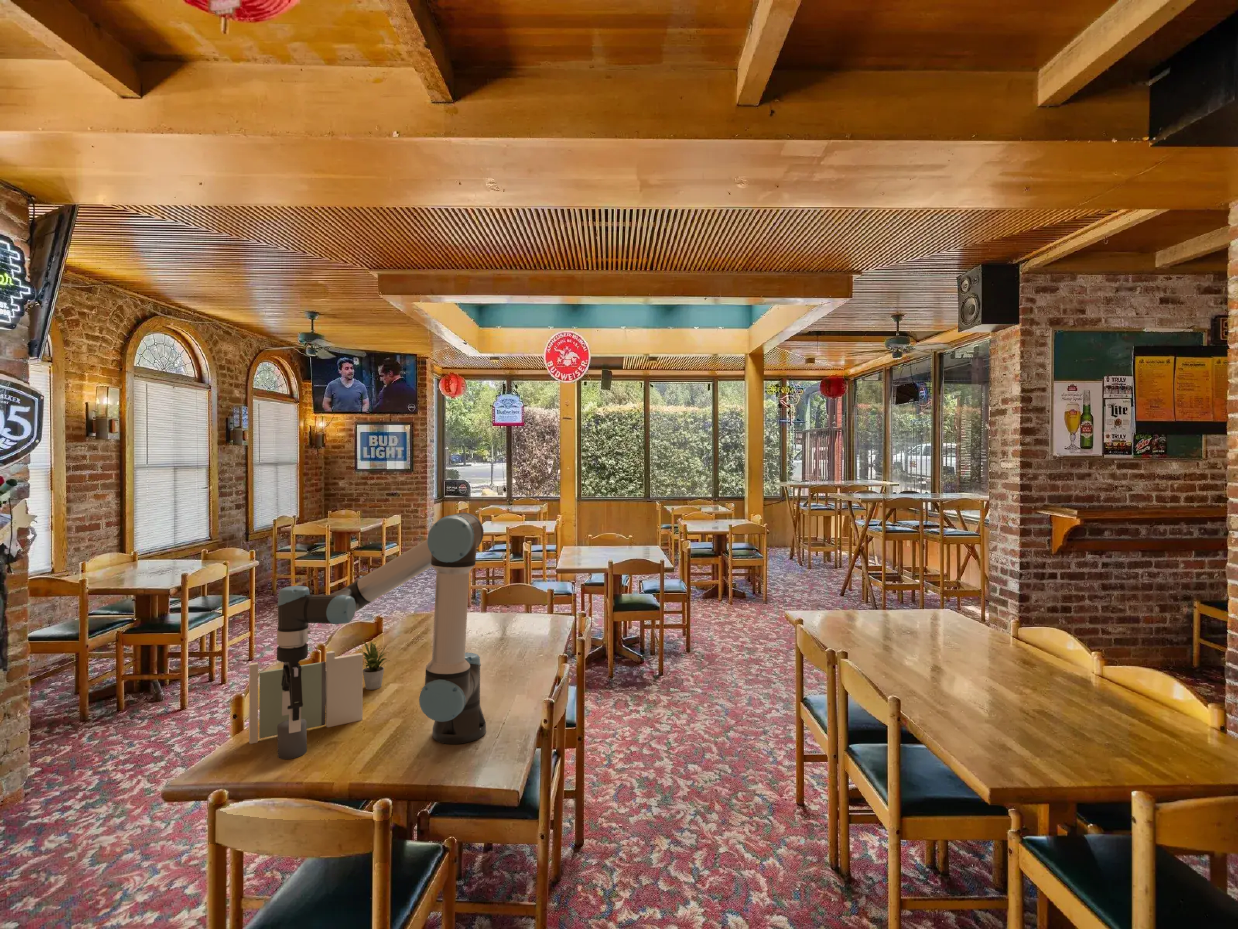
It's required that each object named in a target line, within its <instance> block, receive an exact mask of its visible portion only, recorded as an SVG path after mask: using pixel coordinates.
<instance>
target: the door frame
mask: <svg viewBox="0 0 1238 929" xmlns="http://www.w3.org/2000/svg"><path fill="white" fill-rule="evenodd" d="M362 653H363V652H362ZM362 653H361V652H360V653H359V652H358V653H352V654H347V655H339V656H335V654H336V651H334V650H330V651H326V652H325V662H326V724H325V726H326V728H331V727H335V726H341V725H345V724H351V723H355V722H359V721H363V718H364V717H363V716H364V714H363V706H364V705H363V702H364V700H363V698H364V697H363V696H364V694H363V691H364V687H363V686H364V684H363V681H364V676H363V667H364V665H363V663H364V658H363V656H364V653H363V654H362ZM248 667H249V668H248V670H249V671H248V672H249V673H248V674H249V675H248V680H249V682H248V686H249V687H248V690H249V691H248V693H249V695H248V698H249V699H248V743H249V745H252V744H257V743H259V662H258V661H257V662H252V663H251V662H250V663H249V665H248Z"/></svg>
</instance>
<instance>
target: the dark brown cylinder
mask: <svg viewBox="0 0 1238 929" xmlns="http://www.w3.org/2000/svg"><path fill="white" fill-rule="evenodd" d="M307 731H308V730H307V729H306V720H305V719H301V731H299V732H294V733H289V720H287V721H284V722H281V723H280V724H278V726H277V735H276V736H277V738H276V739H277V758H278V759H280V760H291V759H296V758H299V757H301V756H304V755H305V754H306V753H307V751H308V749H307V748H308V744H307V743H308V739H307Z"/></svg>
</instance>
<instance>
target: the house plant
mask: <svg viewBox="0 0 1238 929" xmlns="http://www.w3.org/2000/svg"><path fill="white" fill-rule="evenodd" d="M361 642H362V643H363V644H364V646H365V649H366V651H367V652H366V651H363V650H359V652H358V653H362V654H363V656H364V657H363V659H364V660H366V661H364V662H363V663H364V664H363V667H365V668H364V669H363V681H364V685H365V686H364V687H365V690H369V691H370V690H371V691H372V690H373V691H374V690H377V689H380V688H381V687H382V684H383V678H384V673H385V667H384V666H383V665H384V664H385V663H386V662H391V659H390V660H387V658H382V657H384V655H385V653H384V652H385V649H386V647H387V645H388V644H386V645H385V647H384V648H383V649H382V651H381V652H380V654H379V650H377V647H376V645H377V641H376V643H373V641H370V644H369V646H368V644H367V643H366V642H365V641H362V640H361ZM392 647H393V645H392V646H390V647H388V649H389V648H392ZM350 648H354V649H355V647H352V646H351V647H350ZM385 660H386V661H385ZM383 661H385V662H383Z"/></svg>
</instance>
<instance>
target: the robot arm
mask: <svg viewBox="0 0 1238 929" xmlns="http://www.w3.org/2000/svg"><path fill="white" fill-rule="evenodd" d="M484 531H485V530H484V526H483V524H482V522H481V521H480V519H479V518H478V517H477V516H475V515H474V514H472V513H469V512H457V513H454V514H450V515H449V514H448V515H445V516H443V517H441V518H439V519H438V520H437V521H435V523H434V524H433V525H432V526H431V528H430V529H429V531H428V534H427V539H425V540H423V541H422V542H421V543H419V544H417V545H415V546H414V547H412V548H410V549H409V550H407V551H405V552H403V553H402V554H400V555H399V556H397V557H394V558H393V559H392V560H389V561H388V562H386V563H384V564H382V566H381V565H380V567H377V568H376V569H374V570H373V571H371V572H369V573H367V574H366V575H364V576H362V577H361V578H359V579H357V580H356V581H354V582H352V583H350V584H347V586H345V587H344V588H341V589H340V590H336V591H334V592H332V593H329V594H319V595H318V594H310V588H309V587H308V586H306V585H305V586H304V585H291V586H285V587H282V588H281V589H280V590H279V591H278V596H277V599H278V600H277V604H276V605H277V630H276V645H277V647H276V660H277V661H278V662H280V663H283V667H282V668H283V675H282V683H281V685H282V686H283V687H282V690H283V692H282V716H284V715H289V733H294V732H299V731H301V707H302V706H303V702H302V682H301V671H302V669H301V666H300V665H301V664H300V661H303V660H305V659H307V658H308V655H309V645H308V641H309V634H311V632H312V631H311V630H309V624H327V625H343V624H349V623H350V622H352V620H353V618H354V617H355V616H356V612H357V611H359V610H361V609H363V608H364V607H366V606H367V605H368V604H371V603H372V602H374V601H375V600H377V599H379V598H380V597H382V596H383V595H386V594H387V593H389V592H391V591H392V590H394V589H396V588H398V587H399V586H401V585H403V584H405V583H407V582H408V581H410V580H411V579H413V578H415V577H416V576H419V575H420V574H422V573H423V572H425V571H427V570H430V568H433V569H434V570H435V571H436V575H435V576H436V578H435V595H434V596H435V597H434V614H433V615H434V616H433V617H434V618H433V632H432V633H433V635H432V656H431V660H430V661H429V662H428V663H427V664H426V665H425V678H424V686H423V687H422V688H421V691H420V693H419V697H418V702H419V707H420V710H421V711H422V713H423V714H425V716H427V718H429V719H430V720H433V721H434V722H433V725H432V739H433V740H434V741H435V742H438V743H441V744H447V745H458V744H459V745H460V744H467V743H470V742H473V741H474V742H475V741H477V740H479V739H480V738H482V737H483V736H484V735H485V734H486V733H487V723H486V722H487V721H486V719H485V716H484V713H483V710H482V708H481V665H482V664H481V657H480V656H479V654H477V653H475V652H474V653H473V652H466V643H467V642H466V641H467V623H468V622H467V621H468V600H469V584H470V583H469V582H470V572H471V570H472V569H474V567H476V560H477V559H476V558H477V548H479V546H480V545H481V544H482V542H483V540H484V534H485V533H484ZM295 702H298V703H295Z"/></svg>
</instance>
